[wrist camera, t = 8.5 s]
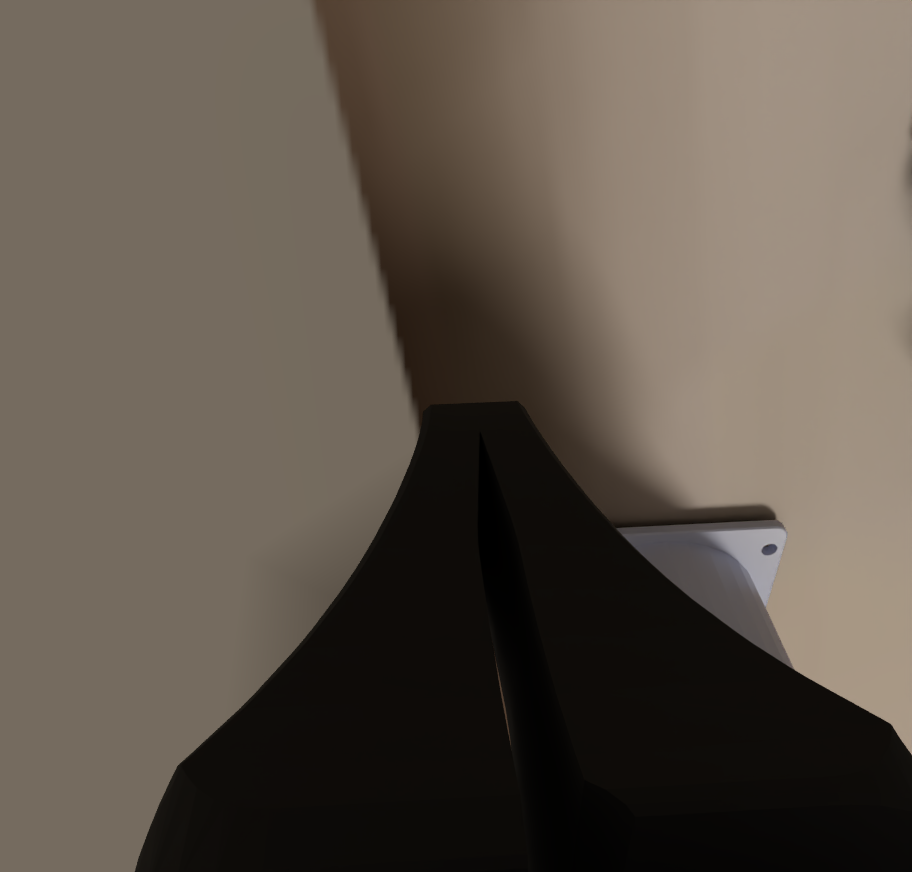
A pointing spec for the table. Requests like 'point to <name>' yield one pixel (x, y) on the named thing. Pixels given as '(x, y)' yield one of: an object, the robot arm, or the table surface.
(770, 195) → the table surface
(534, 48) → the table surface
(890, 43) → the table surface
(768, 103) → the table surface
